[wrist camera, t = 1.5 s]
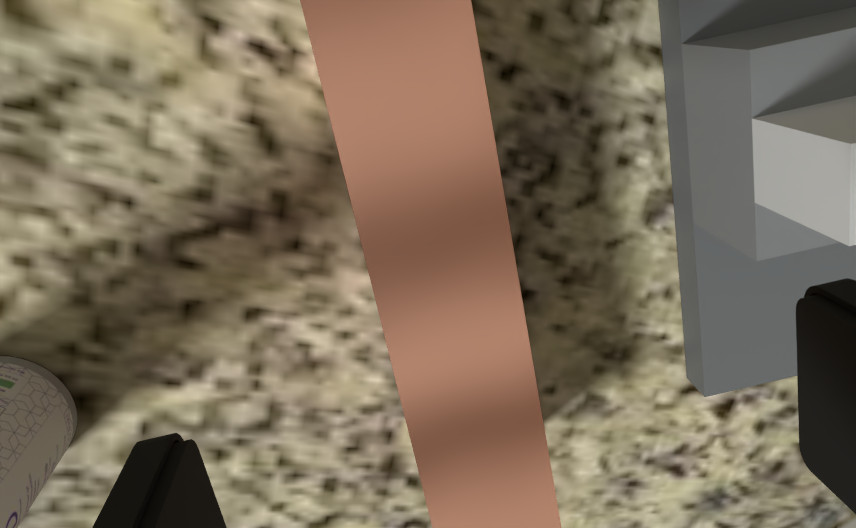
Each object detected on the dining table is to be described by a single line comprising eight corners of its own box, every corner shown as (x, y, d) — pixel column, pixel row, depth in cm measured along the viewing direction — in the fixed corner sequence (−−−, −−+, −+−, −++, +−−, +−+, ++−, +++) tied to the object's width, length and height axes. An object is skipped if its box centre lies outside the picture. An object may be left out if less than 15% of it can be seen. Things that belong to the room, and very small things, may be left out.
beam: (271, -161, 21) (244, -224, 15) (404, -188, 21) (426, -261, 15) (423, 456, 28) (442, 566, 23) (520, 433, 29) (562, 537, 23)
